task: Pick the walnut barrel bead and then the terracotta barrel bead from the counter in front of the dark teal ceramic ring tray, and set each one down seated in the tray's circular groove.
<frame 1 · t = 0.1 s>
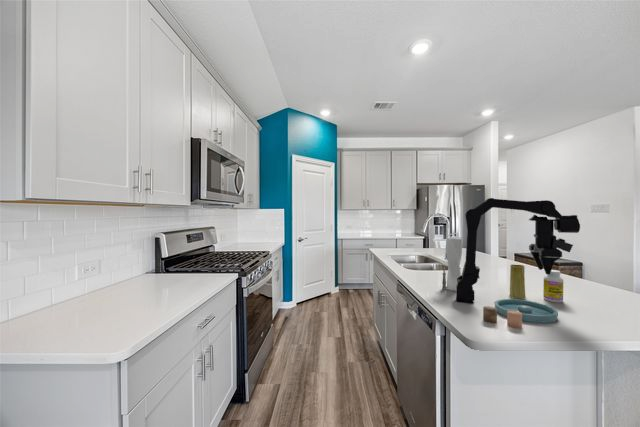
hand: (544, 271, 115), 15 cm above the countertop, fingers open, 9 cm apart
vase: (517, 297, 131), on the countertop
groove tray: (524, 313, 110), on the countertop
bead terracotta: (514, 325, 99), on the countertop
bead walnut: (490, 320, 104), on the countertop
supplement bottle: (553, 300, 126), on the countertop
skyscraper: (453, 290, 145), on the countertop
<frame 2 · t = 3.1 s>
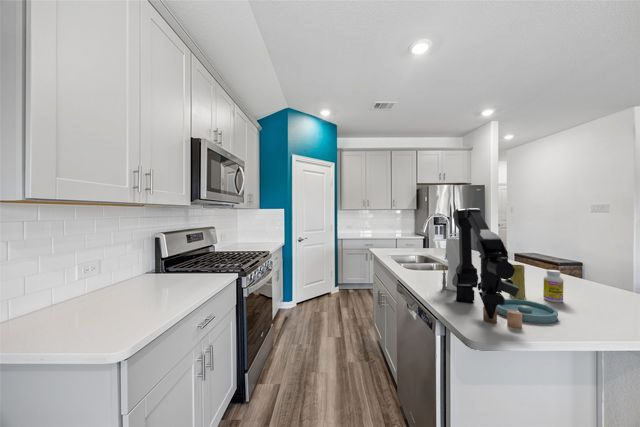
hand: (490, 316, 104), 2 cm above the countertop, fingers closed on bead walnut, 4 cm apart
bead walnut: (490, 320, 104), on the countertop, touching gripper
everything else where it was.
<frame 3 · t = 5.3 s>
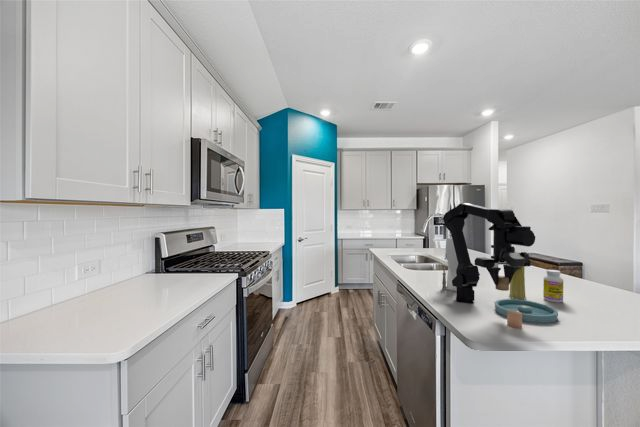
hand: (502, 284, 109), 11 cm above the countertop, fingers closed on bead walnut, 4 cm apart
bead walnut: (502, 289, 109), point 10 cm above the countertop, touching gripper
everything else where it was.
when the fingers open (3 cm above the countertop, at t = 7.5 s): bead walnut stays where it is, resting on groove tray.
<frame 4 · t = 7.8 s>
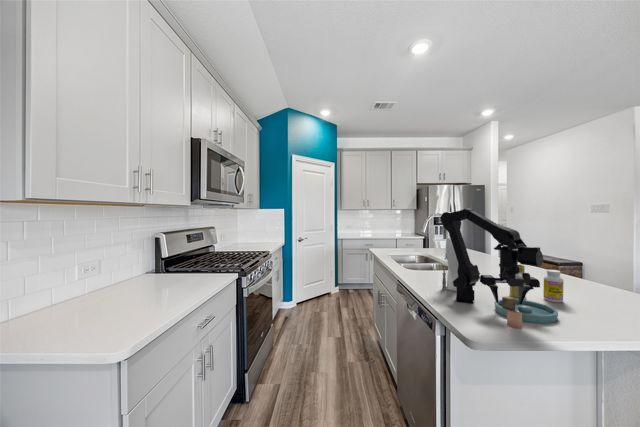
hand: (508, 303, 112), 3 cm above the countertop, fingers open, 8 cm apart
bead walnut: (508, 309, 112), point 1 cm above the countertop, touching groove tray
everything else where it was.
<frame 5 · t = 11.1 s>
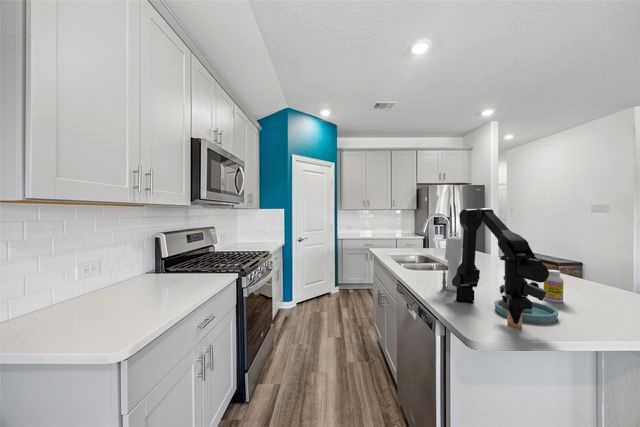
hand: (514, 321, 99), 2 cm above the countertop, fingers closed on bead terracotta, 4 cm apart
bead terracotta: (514, 325, 99), on the countertop, touching gripper
everything else where it was.
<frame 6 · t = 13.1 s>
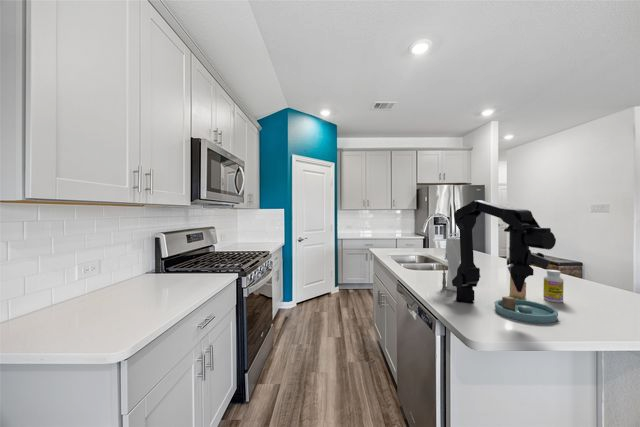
hand: (518, 290, 102), 11 cm above the countertop, fingers closed on bead terracotta, 4 cm apart
bead terracotta: (518, 294, 102), point 10 cm above the countertop, touching gripper
everything else where it was.
when the fingers open (3 cm above the countertop, at t = 15.3 s): bead terracotta stays where it is, resting on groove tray.
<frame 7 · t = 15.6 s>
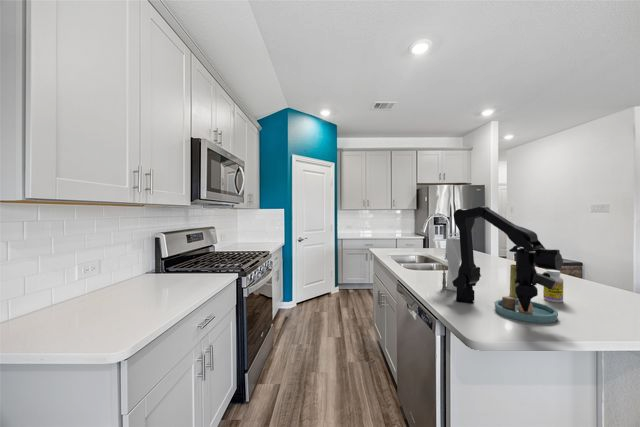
hand: (525, 308, 106), 3 cm above the countertop, fingers open, 7 cm apart
bead terracotta: (525, 315, 106), point 1 cm above the countertop, touching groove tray
everything else where it was.
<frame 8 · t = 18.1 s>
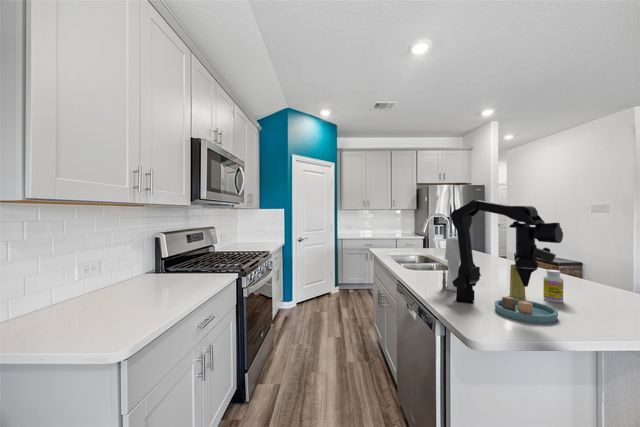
hand: (525, 283, 106), 12 cm above the countertop, fingers open, 9 cm apart
nothing on the countertop moved.
at the end: bead walnut 0.1 cm from the target spot on the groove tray, point 1.0 cm above the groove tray's base; bead terracotta 0.0 cm from the target spot on the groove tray, point 1.0 cm above the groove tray's base; the gripper is holding nothing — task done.
